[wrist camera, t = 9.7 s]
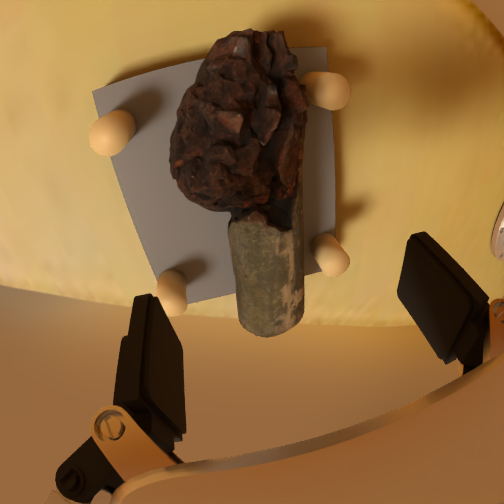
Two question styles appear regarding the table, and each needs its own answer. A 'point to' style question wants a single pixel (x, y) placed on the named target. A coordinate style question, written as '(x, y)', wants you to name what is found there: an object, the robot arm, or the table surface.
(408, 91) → the table surface
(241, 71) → the dark elongated piece
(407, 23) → the table surface
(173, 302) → the pipe stand
